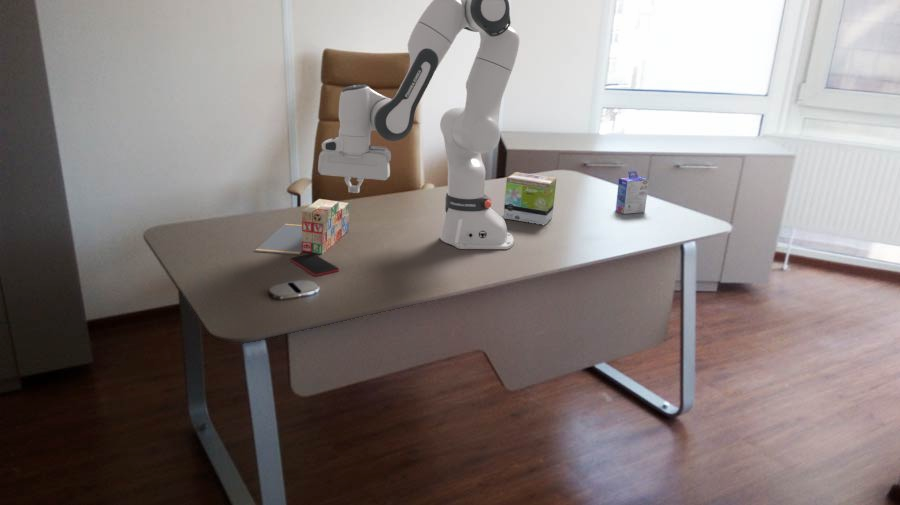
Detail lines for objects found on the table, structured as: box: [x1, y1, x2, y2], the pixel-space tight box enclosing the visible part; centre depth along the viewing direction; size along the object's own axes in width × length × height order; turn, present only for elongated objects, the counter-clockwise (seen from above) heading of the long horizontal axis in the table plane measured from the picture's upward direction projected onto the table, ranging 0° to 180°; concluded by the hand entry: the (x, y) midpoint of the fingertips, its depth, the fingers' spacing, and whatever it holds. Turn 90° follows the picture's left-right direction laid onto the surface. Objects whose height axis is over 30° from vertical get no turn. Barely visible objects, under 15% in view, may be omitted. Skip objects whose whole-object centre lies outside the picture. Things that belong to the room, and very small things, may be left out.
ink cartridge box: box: [615, 170, 650, 215], centre depth 233 cm, size 10×6×14 cm, turn 114°
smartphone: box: [289, 252, 340, 277], centre depth 175 cm, size 7×1×15 cm
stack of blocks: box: [301, 198, 350, 255], centre depth 190 cm, size 21×6×12 cm, turn 168°
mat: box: [254, 223, 304, 256], centre depth 193 cm, size 13×25×1 cm, turn 174°
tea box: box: [503, 171, 557, 226], centre depth 220 cm, size 15×10×15 cm, turn 68°
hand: (353, 192), depth 186 cm, fingers closed
